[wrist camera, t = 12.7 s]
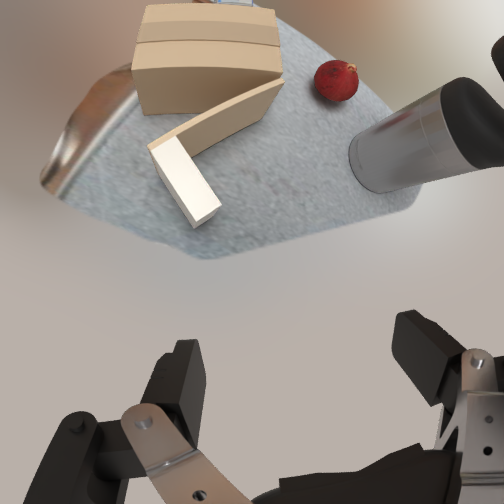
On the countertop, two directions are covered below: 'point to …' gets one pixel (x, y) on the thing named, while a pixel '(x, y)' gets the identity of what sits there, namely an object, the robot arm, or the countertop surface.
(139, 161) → the countertop surface
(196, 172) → the carton flap
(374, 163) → the robot arm
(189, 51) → the kraft carton
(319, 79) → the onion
